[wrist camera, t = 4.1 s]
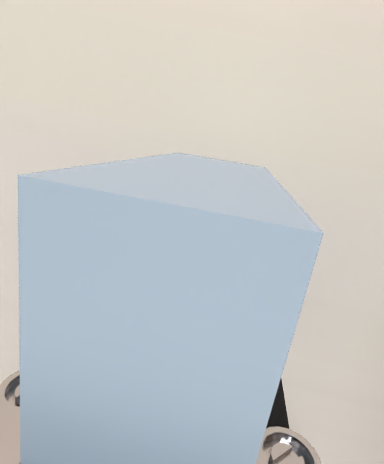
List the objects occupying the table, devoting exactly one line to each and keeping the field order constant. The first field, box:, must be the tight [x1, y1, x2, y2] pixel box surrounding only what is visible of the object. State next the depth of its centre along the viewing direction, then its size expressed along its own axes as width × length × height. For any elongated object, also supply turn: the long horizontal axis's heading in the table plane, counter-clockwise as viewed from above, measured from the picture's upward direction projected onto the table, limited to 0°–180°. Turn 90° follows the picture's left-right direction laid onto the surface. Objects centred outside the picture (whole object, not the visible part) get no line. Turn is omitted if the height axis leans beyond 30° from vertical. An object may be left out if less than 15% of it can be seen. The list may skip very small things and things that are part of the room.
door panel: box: [18, 153, 323, 464], centre depth 9 cm, size 12×3×8 cm, turn 171°
